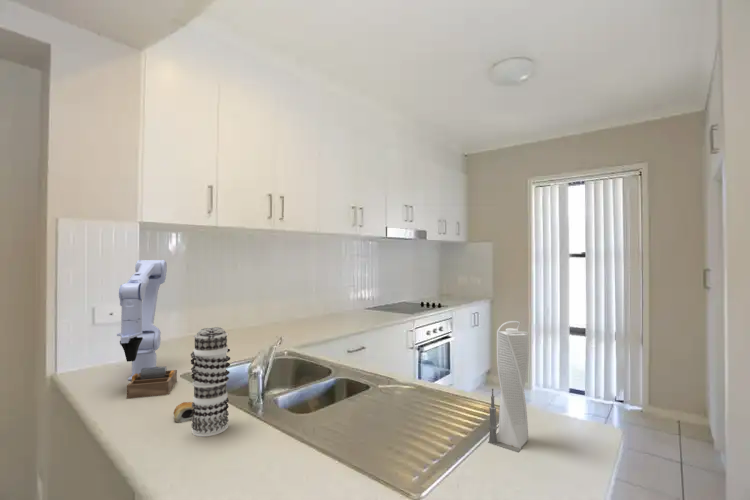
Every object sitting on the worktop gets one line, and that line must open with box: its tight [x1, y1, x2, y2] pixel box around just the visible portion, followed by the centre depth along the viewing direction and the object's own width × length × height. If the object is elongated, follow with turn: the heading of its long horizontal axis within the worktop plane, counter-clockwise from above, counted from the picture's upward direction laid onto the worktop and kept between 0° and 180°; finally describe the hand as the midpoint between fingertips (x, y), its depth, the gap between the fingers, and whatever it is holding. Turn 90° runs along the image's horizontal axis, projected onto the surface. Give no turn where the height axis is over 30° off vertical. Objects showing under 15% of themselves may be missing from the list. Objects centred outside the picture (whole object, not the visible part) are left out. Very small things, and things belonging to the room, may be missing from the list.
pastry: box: [173, 401, 194, 423], centre depth 103 cm, size 9×7×4 cm
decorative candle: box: [190, 326, 231, 438], centre depth 95 cm, size 9×9×25 cm
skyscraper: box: [487, 320, 530, 453], centre depth 88 cm, size 8×8×28 cm
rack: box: [126, 369, 178, 400], centre depth 123 cm, size 14×11×5 cm
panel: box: [141, 366, 167, 380], centre depth 123 cm, size 2×7×6 cm, turn 108°
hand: (131, 360), depth 123 cm, fingers closed
